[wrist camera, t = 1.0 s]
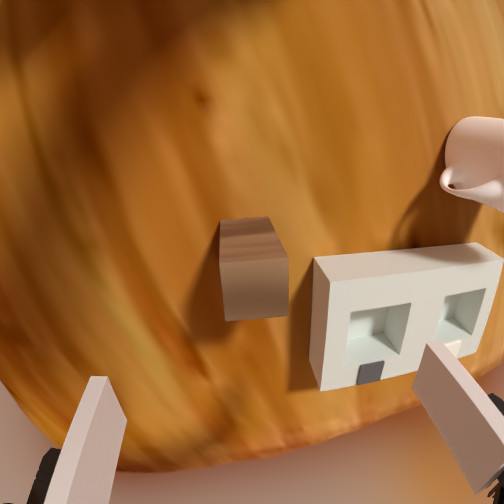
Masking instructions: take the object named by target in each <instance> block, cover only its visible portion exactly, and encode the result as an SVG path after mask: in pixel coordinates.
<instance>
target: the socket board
mask: <svg viewBox="0 0 504 504" xmlns="http://www.w3.org/2000/svg"><path fill="white" fill-rule="evenodd" d="M503 262H504V259H503V258H501V257H500V256H498V255H497V254H495V253H493V252H492V251H490V250H488V249H487V248H485V247H483V246H482V245H480V244H478V243H476V242H475V243H465V244H454V245H444V246H433V247H423V248H412V249H401V250H390V251H379V252H367V253H356V254H344V255H333V256H321V257H314V263H313V293H312V315H311V334H310V350H309V361H310V364H311V367H312V370H313V373H314V376H315V378H316V381H317V384H318V387H319V390H320V391H326V390H332V389H338V388H343V387H348V386H354V385H361V384H366V383H371V382H375V381H380V380H382V379H386V378H390V377H394V376H398V375H402V374H406V373H410V372H414V371H417V370H418V368H419V365H420V362H421V359H422V356H423V352H424V349H425V346H426V343H428V342H432V341H436V340H441V341H442V343H443V344H444V345H445V346H446V347H447V348H448V349H449V351H450V352H451V353H452V354H453V355H454V356H455V357H456V359H458V358H461V357H464V356H467V355H470V354H472V353H475V352H476V350H477V348H478V345H479V342H480V340H481V337H482V334H483V331H484V328H485V326H486V323H487V320H488V317H489V313H490V310H491V307H492V304H493V300H494V297H495V293H496V290H497V286H498V282H499V278H500V275H501V270H502V266H503Z"/></svg>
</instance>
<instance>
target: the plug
mask: <svg viewBox="0 0 504 504" xmlns="http://www.w3.org/2000/svg"><path fill="white" fill-rule="evenodd" d="M219 266H220V276H221V286H222V295H223V305H224V314H225V321H238V320H250V319H261V318H271V317H281V316H288V302H289V271H288V256H287V254H286V252H285V250H284V248H283V246H282V244H281V242H280V240H279V238H278V236H277V234H276V232H275V230H274V228H273V226H272V224H271V222H270V220H269V218H268V217H256V218H242V219H229V220H220V250H219Z"/></svg>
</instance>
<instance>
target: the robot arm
mask: <svg viewBox="0 0 504 504" xmlns="http://www.w3.org/2000/svg"><path fill="white" fill-rule="evenodd" d="M412 389H413V391H414V392H415V394H416V396H417V397H418V399H419V400H420V402H421V404H422V405H423V407H424V408H425V410H426V411H427V413H428V415H429V416H430V418H431V420H432V421H433V423H434V424H435V426H436V428H437V429H438V431H439V433H440V434H441V436H442V437H443V439H444V441H445V443H446V444H447V446H448V448H449V449H450V451H451V453H452V454H453V456H454V458H455V460H456V461H457V463H458V465H459V466H460V468H461V470H462V472H463V473H464V475H465V477H466V479H467V480H468V482H469V484H470V486H471V487H472V490H473V491H474V493H475V494H477V493H479V492H480V491H482V490H484V489H486V488H487V487H489V486H490V485H491V484H492V483H493V482H494V481H495V480H496V479H498V481H499V483H498V484H497V485H496V486H495V487H494V488H493V489H492V490H491V491H490V492H489V494H488V497H490V496H491V495H492V494H493V493H494V492H495V494H494V496H493V497H492V498H494V501H493V504H504V401H503V400H502V399H501V398H499V397H497V396H496V395H494V394H493V393H491V394H489V395H486V393H485V392H484V391H483V390H482V389H481V387H480V386H479V385H478V384H477V382H476V381H475V380H474V379H473V378H472V376H471V375H470V374H469V373H468V372H467V370H466V369H465V368H464V367H463V366H462V364H461V363H460V362H459V361H458V360H457V359H456V357H455V356H454V355H453V354H452V353H451V352H450V351H449V349H448V348H447V347H446V346H445V345H444V344H443V343H442V341H441V340H436V341H432V342H428V343H426V346H425V349H424V352H423V356H422V359H421V362H420V365H419V368H418V371H417V374H416V377H415V380H414V383H413V386H412ZM126 423H127V419H126V417H125V415H124V413H123V411H122V409H121V406H120V404H119V402H118V400H117V397H116V395H115V393H114V391H113V388H112V386H111V384H110V381H109V379H108V377H104V376H91V377H90V379H89V382H88V384H87V386H86V389H85V391H84V394H83V396H82V398H81V401H80V403H79V406H78V408H77V411H76V413H75V416H74V418H73V421H72V423H71V426H70V428H69V431H68V434H67V436H66V439H65V442H64V445H63V447H62V450H61V449H55V448H51V449H50V450H49V451H48V452H47V453H46V454H45V455H44V456H43V458H42V461H41V464H40V466H39V471H38V472H37V474H36V479H35V480H34V483H33V486H32V489H31V492H30V495H29V498H28V501H27V504H109V501H110V495H111V490H112V485H113V480H114V475H115V471H116V466H117V462H118V457H119V453H120V448H121V444H122V440H123V435H124V431H125V427H126ZM4 504H12V503H4Z"/></svg>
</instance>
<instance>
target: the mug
mask: <svg viewBox="0 0 504 504" xmlns="http://www.w3.org/2000/svg"><path fill="white" fill-rule="evenodd" d="M445 165H446V169H445V170H444V171H443V173H442V174H441V176H440V186H441V187H442V188H443V189H444V190H445V191H447V192H448V193H451V194H453V195H455V196H458V197H462V198H466V199H472V200H475V201H477V202H480V203H482V204H484V205H487V206H489V207H492V208H494V209H496V210H499V211H501V212H503V213H504V119H501V118H490V117H468V118H464V119H462V120H461V121H459V122H458V123H457V124H456V125H455V126H454V127H453V128H452V130H451V132H450V134H449V136H448V139H447V142H446V147H445ZM449 184H453V186H454V187H455V188H456V190H455V189H451V188H449V187H448V185H449Z"/></svg>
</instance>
